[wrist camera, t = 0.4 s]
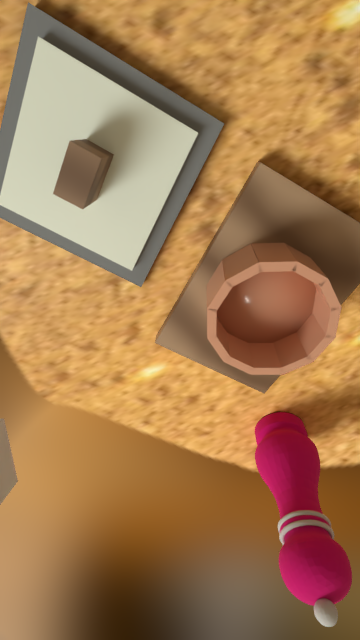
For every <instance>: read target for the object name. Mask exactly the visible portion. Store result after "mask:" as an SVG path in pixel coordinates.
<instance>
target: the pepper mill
mask: <svg viewBox="0 0 360 640" xmlns="http://www.w3.org/2000/svg"><path fill="white" fill-rule="evenodd" d="M255 436H256V442H257V445H258V446H257V449H256V452H255V460H256V464H257V468H258V471H259V473H260V475H261V477H262V478H263V480H264V481H265V483H266V484H267V485H268V487H269V488H270V490H271V492H272V493H273V495H274V497H275V499H276V501H277V505H278V508H279V512H280V519H281V520H280V521H279V523H278V531H279V533H280V537H279V538H280V541H281V543H282V544H283V547H282V548H281V550H280V554H279V567H280V571H281V575H282V578H283V580H284V582H285V584H286V586H287V588H288V589H289V590H290V592H291V593H292V594H293V595H294V596H295V597H296V598H298V599H299V600H301V601H302V602H304V603H307V604H309V605H313V606H314V613H315V616H316V618H317V620H318V621H319V622H320V623H321V624H322V625H324V626H326V627H332V626H334V625H335V624H336V622H337V619H338V613H337V609H336V607H335V605H334V604H336V603H337V602H339V601H341V600H342V599H343V598H344V597H345V596H346V595H347V593H348V592H349V590H350V586H351V583H352V572H351V567H350V562H349V560H348V557H347V555H346V552H345V551H344V550H343V548H342V547H341V546H340V545H339V544H338V543H337V542H335V541H334V540H333V539H334V532H333V530H332V528H331V523H330V520H329V519H328V518H327V517H326V516H325V515H323V513H322V511H321V508H320V504H319V499H318V481H319V475H320V459H319V455H318V451H317V448H316V446H315V444H314V443H313V442H312V441H311V440H310V439H309V438H308V435H307V432H306V429H305V426H304V423H303V422H302V420H301V419H300V418H298V417H297V416H295V415H293V414H290V413H286V412H277V413H272V414H269V415H267V416H265V417H263V418H262V419H261V420H260V421H259V422H258V423H257V425H256V427H255Z"/></svg>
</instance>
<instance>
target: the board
mask: <svg viewBox="0 0 360 640" xmlns="http://www.w3.org/2000/svg"><path fill="white" fill-rule="evenodd" d="M251 243H286V244H287V245H289V246H291V247H293V248H294V249H296V250H298V251H300V252H302V253H303V254H305V255H307V256H309V257H310V258H311V259H312V260H313V261H314V262H315V263H316V265H317V266H318V267H319V268H320V269H321V271H322V272H323V273H324V274H325V275H326V277H327V278H328V279H329V281H330V284H331V286H332V288H333V290H334V292H335V294H336V297H337V299H338V301H339V303H340V305H341V304H342V303H343V302H344V301H345V300H346V299H347V297H348V296H349V295H350V294H351V293H352V292H353V291H354V289H355V288H356V287H357V286H358V285H359V284H360V223H359V222H358V221H356V220H354V219H353V218H351V217H349V216H348V215H346V214H345V213H343V212H341V211H340V210H338V209H336V208H335V207H333V206H331V205H330V204H328V203H326V202H325V201H323V200H322V199H320V198H318V197H317V196H315V195H313V194H312V193H310V192H308V191H307V190H305V189H303V188H302V187H300V186H299V185H297V184H295V183H294V182H292V181H290V180H289V179H287V178H285V177H284V176H282V175H280V174H279V173H277V172H275V171H274V170H272V169H271V168H269V167H267V166H266V165H264V164H262V163H261V162H259V161H258V162H257V164H256V166H255V167H254V169H253V171H252V172H251V174H250V176H249V178H248V179H247V181H246V183H245V185H244V186H243V188H242V190H241V191H240V193H239V195H238V197H237V198H236V200H235V202H234V203H233V205H232V207H231V209H230V210H229V212H228V214H227V215H226V217H225V219H224V221H223V222H222V224H221V226H220V227H219V229H218V231H217V233H216V234H215V236H214V238H213V239H212V241H211V243H210V245H209V246H208V248H207V250H206V251H205V253H204V255H203V257H202V258H201V260H200V262H199V264H198V265H197V267H196V269H195V270H194V272H193V274H192V276H191V277H190V279H189V281H188V282H187V284H186V286H185V288H184V289H183V291H182V293H181V294H180V296H179V298H178V300H177V301H176V303H175V305H174V306H173V308H172V310H171V312H170V313H169V315H168V317H167V318H166V320H165V322H164V324H163V325H162V327H161V329H160V330H159V332H158V334H157V336H156V340H155V343H156V344H159V345H161V346H163V347H165V348H167V349H169V350H171V351H174V352H176V353H178V354H180V355H182V356H184V357H187V358H189V359H191V360H193V361H195V362H197V363H200V364H202V365H204V366H206V367H208V368H210V369H212V370H215V371H217V372H219V373H221V374H223V375H225V376H228V377H230V378H232V379H234V380H236V381H238V382H241V383H243V384H245V385H247V386H249V387H251V388H253V389H256V390H258V391H260V392H262V393H265V392H266V391H267V390H268V389H269V387H270V386H271V385H272V384H273V383H274V382H275V381H276V379H277V378H278V377H279V376H280V375H251V374H248V373H246V372H244V371H242V370H240V369H237V368H235V367H233V366H231V365H229V364H227V363H225V362H223V361H222V359H221V358H220V356H219V355H218V353H217V352H216V350H215V349H214V348H213V346H212V345H211V343H210V342H209V340H208V339H207V289H206V285H207V284H208V282H209V280H210V279H211V277H212V275H213V274H214V272H215V271H216V269H217V267H218V266H219V264H220V262H221V261H222V259H224V258H226V257H228V256H230V255H231V254H233V253H235V252H237V251H238V250H240V249H242V248H244V247H245V246H247V245H249V244H251Z"/></svg>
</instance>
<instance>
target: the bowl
mask: <svg viewBox="0 0 360 640" xmlns="http://www.w3.org/2000/svg"><path fill="white" fill-rule="evenodd" d="M206 289H207V339H208V340H209V342H210V343H211V345H212V346H213V348H214V349H215V350H216V352H217V353H218V355H219V356H220V358H221V359H222V361H223V362H225V363H227V364H229V365H231V366H233V367H235V368H237V369H240V370H242V371H244V372H246V373H248V374H251V375H283V374H286V373H288V372H290V371H293V370H295V369H298V368H300V367H302V366H305V365H307V364H309V363H312V362H314V360H315V359H316V358H317V357H318V356H319V355H320V354H321V353H322V352H323V351H324V349H325V348H326V347H327V346H328V345H329V344H330V343H331V342H332V341H333V340H334V338H335V336H336V331H337V326H338V322H339V317H340V312H341V305H340V303H339V301H338V299H337V297H336V294H335V292H334V290H333V288H332V286H331V284H330V281H329V279H328V278H327V277H326V275H325V274H324V273H323V272H322V271H321V269H320V268H319V267H318V266H317V265H316V263H315V262H314V261H313V260H312V259H311V258H310V257H309V256H307V255H305V254H303V253H302V252H300V251H298V250H296V249H294V248H293V247H291V246H289V245H287V244H286V243H251V244H249V245H247V246H245V247H244V248H242V249H240V250H238V251H237V252H235V253H233V254H231V255H230V256H228V257H226V258H224V259H222V261H221V262H220V264H219V266H218V267H217V269H216V271H215V272H214V274H213V275H212V277H211V279H210V280H209V282H208V284H207V285H206Z"/></svg>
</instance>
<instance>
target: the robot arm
mask: <svg viewBox="0 0 360 640" xmlns="http://www.w3.org/2000/svg"><path fill="white" fill-rule="evenodd" d="M17 481H18V480H17V476H16V471H15V466H14V462H13V457H12V453H11V449H10V444H9V440H8V435H7V431H6V426H5V422H4V419H0V504H1V503H2V502H3V500H4V499H5V498H6V496H7V495H8V494H9V492H10V491H11V489H12V488H13V487H14V485H15V484H16V483H17Z"/></svg>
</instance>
